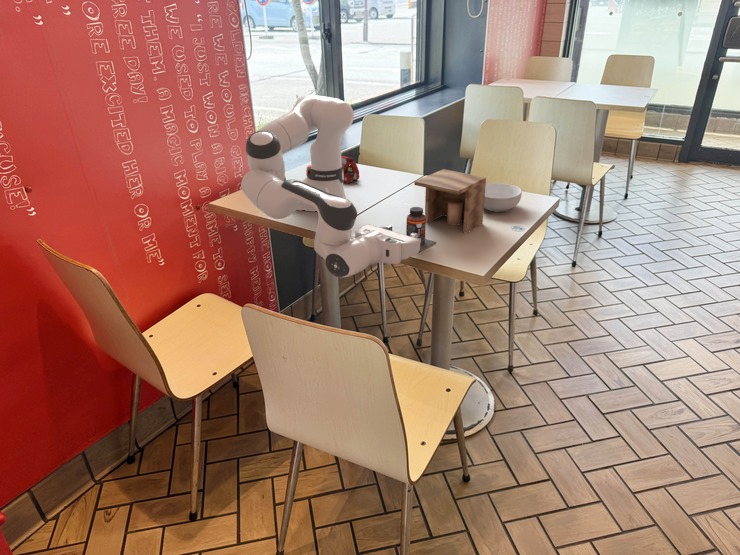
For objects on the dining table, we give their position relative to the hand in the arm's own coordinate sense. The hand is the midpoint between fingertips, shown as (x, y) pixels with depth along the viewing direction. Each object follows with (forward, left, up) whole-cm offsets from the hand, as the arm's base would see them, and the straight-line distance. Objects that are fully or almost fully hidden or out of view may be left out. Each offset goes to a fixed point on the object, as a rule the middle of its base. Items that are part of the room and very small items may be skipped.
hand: (403, 231), depth 162 cm
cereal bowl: (+34, +39, -7) cm, 52 cm away
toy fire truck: (-24, +72, -7) cm, 76 cm away
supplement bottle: (+4, +6, -6) cm, 9 cm away
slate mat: (+4, +6, -7) cm, 10 cm away
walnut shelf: (+15, +21, -7) cm, 27 cm away
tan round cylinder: (+17, +24, -7) cm, 31 cm away
